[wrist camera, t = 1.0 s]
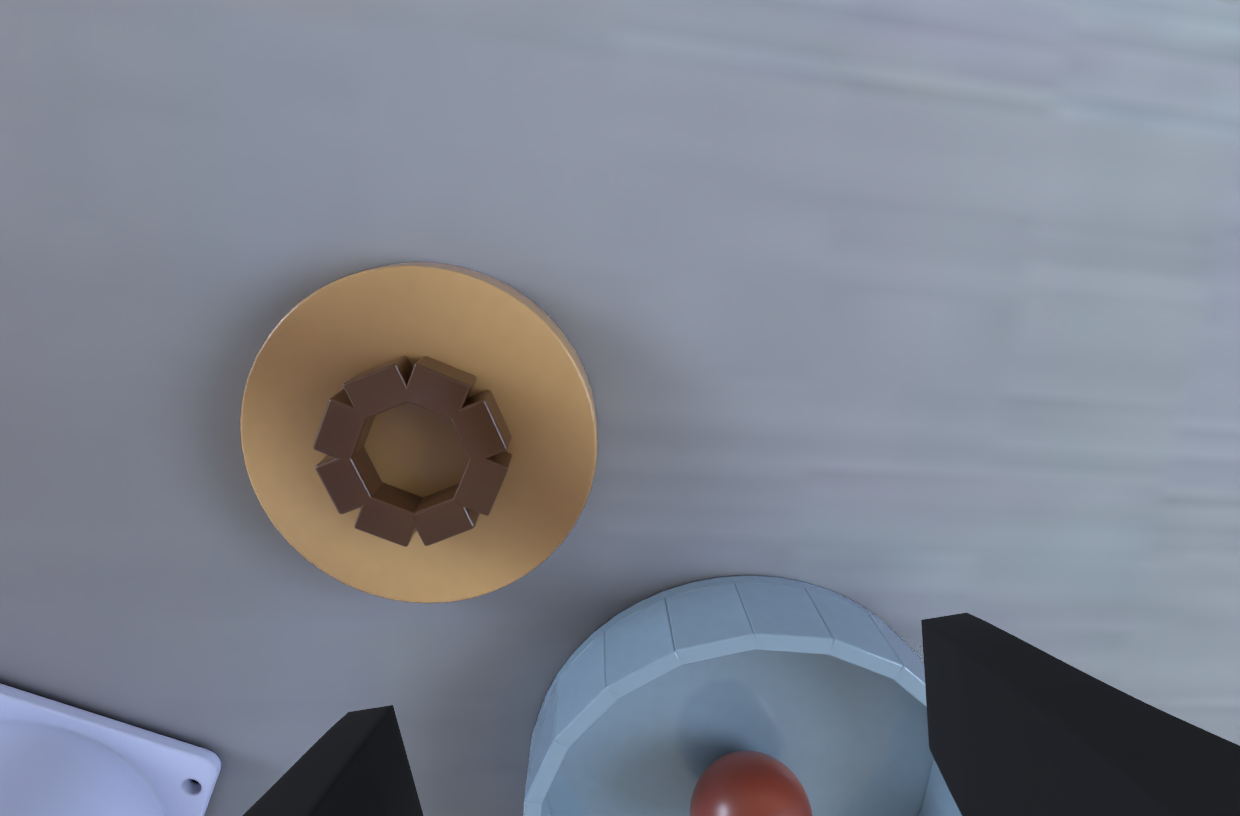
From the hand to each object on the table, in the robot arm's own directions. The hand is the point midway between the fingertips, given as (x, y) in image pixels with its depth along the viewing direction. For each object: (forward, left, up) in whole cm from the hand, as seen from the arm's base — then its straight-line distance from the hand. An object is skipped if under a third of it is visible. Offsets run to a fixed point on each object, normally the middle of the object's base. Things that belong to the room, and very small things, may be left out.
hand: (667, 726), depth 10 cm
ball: (-7, -6, -8) cm, 12 cm away
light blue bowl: (-7, -6, -10) cm, 13 cm away
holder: (-1, +5, -10) cm, 11 cm away
